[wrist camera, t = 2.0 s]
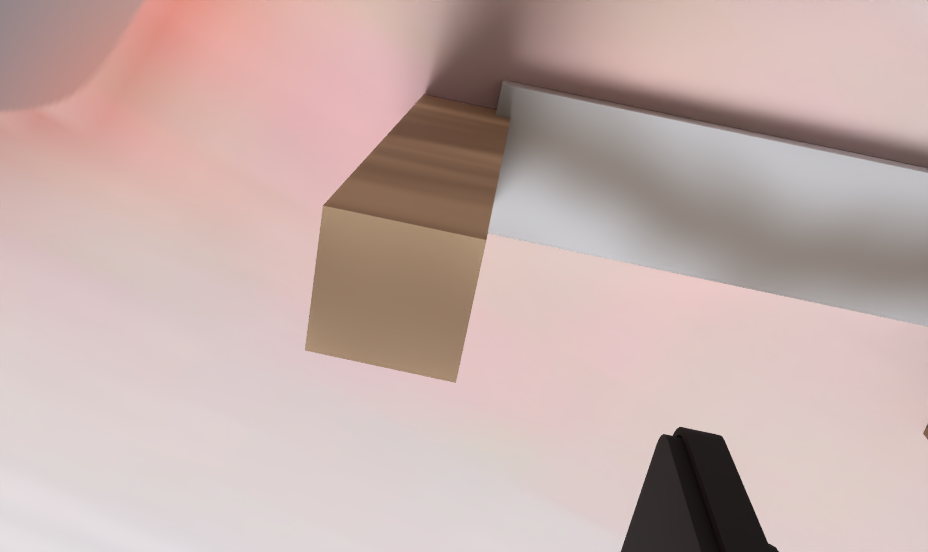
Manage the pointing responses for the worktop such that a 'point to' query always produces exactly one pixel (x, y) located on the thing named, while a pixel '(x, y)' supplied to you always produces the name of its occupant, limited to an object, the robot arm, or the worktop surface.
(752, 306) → the worktop surface
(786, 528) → the worktop surface
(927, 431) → the wooden bench
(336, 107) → the worktop surface
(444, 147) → the blade tool
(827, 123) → the worktop surface
